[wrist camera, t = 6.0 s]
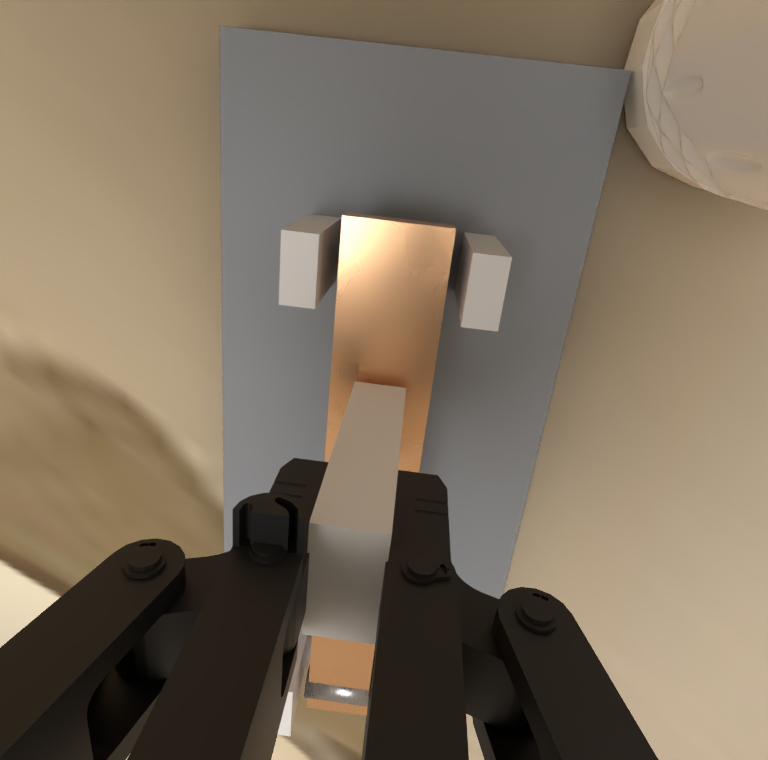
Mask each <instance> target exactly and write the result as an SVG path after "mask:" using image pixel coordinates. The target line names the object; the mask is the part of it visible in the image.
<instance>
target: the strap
mask: <svg viewBox="0 0 768 760" xmlns="http://www.w3.org/2000/svg"><path fill="white" fill-rule="evenodd" d="M455 233H456V227H455V225H453V224H445V223H436V222H428V221H419V220H411V219H402V218H394V217H385V216H377V215H369V214H360V213H352V212H346V213H344V214H343V215H342V223H341V237H340V251H339V265H338V279H337V293H336V307H335V321H334V335H333V349H332V363H331V376H330V390H329V404H328V418H327V432H326V446H325V460H324V462H329V460H330V457H331V454H332V450H333V447H334V444H335V441H336V438H337V435H338V432H339V429H340V426H341V423H342V420H343V416H344V413H345V410H346V407H347V404H348V401H349V398H350V395H351V392H352V389H353V386H354V382H355V381H356V382H363V383H371V384H379V385H387V386H395V387H403V388H406V395H405V405H404V416H403V426H402V436H401V446H400V456H399V466H398V470H403V471H410V472H418V473H419V469H420V462H421V456H422V449H423V443H424V436H425V430H426V423H427V416H428V410H429V403H430V397H431V390H432V384H433V377H434V371H435V364H436V357H437V351H438V344H439V338H440V331H441V325H442V318H443V312H444V305H445V298H446V292H447V285H448V279H449V272H450V266H451V259H452V253H453V246H454V239H455ZM374 650H375V645H374V644H367V643H360V642H353V641H346V640H339V639H332V638H325V637H318V636H312V642H311V655H310V665H309V669H308V674H307V679H306V685H305V693H304V698H307V707H309V708H316V709H323V710H330V711H336V712H343V713H350V714H357V715H364V716H367V708H368V699H369V697H368V694H369V687H370V680H371V672H372V665H373V657H374Z"/></svg>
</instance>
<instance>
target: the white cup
mask: <svg viewBox="0 0 768 760" xmlns="http://www.w3.org/2000/svg"><path fill="white" fill-rule="evenodd" d="M624 70H631V74H630V78H629V82H628V86H627V90H626V94H625V98H624V106H625V116H626V126H627V129H628V131H629V132H630V134H631V135H632V137H633V138H634V140H635V141H636V143H637V144H638V146H639V148H640V149H641V151H642V152H643V154H644V155H645V157H646V158H647V160H648V161H649V163H650V164H651V166H652V167H654V168H656V169H658V170H660V171H662V172H664V173H666V174H668V175H670V176H672V177H674V178H676V179H678V180H680V181H682V182H684V183H686V184H688V185H690V186H693V187H696V188H700V189H704V190H706V191H709V192H711V193H714V194H716V195H719V196H722V197H725V198H729V199H732V200H735V201H739V202H742V203H745V204H748V205H751V206H754V207H757V208H761V209H764V210H768V0H655V1H654V2H653V3H652V4H651V6H650V7H649V8H648V9H647V11H646V12H645V13H644V15H643V16H642V17H641V18H640V20H639V22H638V26H637V29H636V32H635V35H634V38H633V42H632V45H631V48H630V51H629V54H628V58H627V61H626V64H625V67H624Z"/></svg>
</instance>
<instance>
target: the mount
mask: <svg viewBox="0 0 768 760" xmlns="http://www.w3.org/2000/svg"><path fill="white" fill-rule="evenodd" d="M219 32H220V145H221V257H222V369H223V482H224V553H225V552H228V551H230V550H231V548H232V546H233V510H232V509H233V508H234V507H235V506H236V505H237V504H238V503H239V502H240V501H241V500H243V499H245V498H247V497H249V496H251V495H256V494H261V493H269V491H270V489H271V487H272V485H273V483H274V481H275V479H276V477H277V474H278V472H279V470H280V468H281V467H282V466H284V465H285V464H286V463H288V462H289V461H290V460H292V459H293V458H300V459H308V460H315V461H323V462H324V460H325V446H326V432H327V418H328V404H329V390H330V376H331V363H332V349H333V335H334V321H335V307H336V293H337V279H338V265H339V251H340V237H341V223H342V215H343V214H344V213H346V212H352V213H360V214H369V215H377V216H385V217H394V218H402V219H411V220H419V221H428V222H436V223H445V224H453V225H455V227H456V233H455V239H454V246H453V253H452V259H451V266H450V272H449V279H448V285H447V292H446V298H445V305H444V312H443V318H442V325H441V331H440V338H439V344H438V351H437V357H436V364H435V371H434V377H433V384H432V390H431V397H430V403H429V410H428V416H427V423H426V430H425V436H424V443H423V449H422V456H421V462H420V469H419V473H425V474H433V475H438V476H439V477H440V479H441V480H442V482H443V483H444V484H445V486H446V487H447V493H448V513H449V514H448V517H449V532H450V551H451V562H452V564H453V566H454V567H455V570H456V573H457V575H458V576H459V577H460V578H461V579H462V580H463V581H464V582H465V583H467V584H468V585H469V586H471V587H472V588H474V589H476V590H478V591H480V592H482V593H485V594H487V595H490V596H492V597H495V598H497V599H500V597H501V596H502V595H503V592H504V588H505V584H506V580H507V576H508V571H509V567H510V563H511V559H512V555H513V551H514V547H515V543H516V539H517V535H518V531H519V527H520V522H521V518H522V514H523V510H524V506H525V502H526V498H527V494H528V490H529V486H530V482H531V478H532V474H533V469H534V465H535V461H536V457H537V453H538V449H539V445H540V441H541V437H542V433H543V429H544V425H545V421H546V416H547V412H548V408H549V404H550V400H551V396H552V392H553V388H554V384H555V380H556V376H557V372H558V368H559V363H560V359H561V355H562V351H563V347H564V343H565V339H566V335H567V331H568V327H569V323H570V319H571V314H572V310H573V306H574V302H575V298H576V294H577V290H578V286H579V282H580V278H581V274H582V270H583V266H584V261H585V257H586V253H587V249H588V245H589V241H590V237H591V233H592V229H593V225H594V221H595V217H596V213H597V208H598V204H599V200H600V196H601V192H602V188H603V184H604V180H605V176H606V172H607V168H608V164H609V160H610V155H611V151H612V147H613V143H614V139H615V135H616V131H617V127H618V123H619V119H620V115H621V111H622V106H623V102H624V98H625V94H626V90H627V86H628V82H629V78H630V74H631V70H622V69H613V68H604V67H595V66H585V65H576V64H567V63H558V62H549V61H539V60H530V59H521V58H512V57H503V56H493V55H484V54H475V53H466V52H457V51H447V50H438V49H429V48H420V47H411V46H401V45H392V44H383V43H374V42H365V41H355V40H346V39H337V38H328V37H319V36H309V35H300V34H291V33H282V32H273V31H263V30H254V29H245V28H236V27H227V26H219ZM302 628H303V623H302V627H301V630H300V634H299V638H298V650H297V660H296V664H295V668H294V672H293V676H292V680H291V683H290V687H289V691H288V695H287V699H286V703H285V707H284V711H283V715H282V718H281V722H280V726H279V730H278V735H285V736H290V735H291V731H292V727H293V722H294V718H295V714H296V710H297V706H298V701H299V697H300V693H301V689H302V685H303V680H304V676H305V672H306V668H307V664H308V660H310V655H311V642H312V636H311V635H304V634H302Z"/></svg>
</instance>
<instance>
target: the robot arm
mask: <svg viewBox="0 0 768 760" xmlns="http://www.w3.org/2000/svg"><path fill="white" fill-rule="evenodd" d="M405 395H406V388H403V387H395V386H387V385H379V384H371V383H363V382H356V381H355V382H354V386H353V389H352V392H351V395H350V398H349V401H348V404H347V407H346V410H345V413H344V416H343V420H342V423H341V426H340V429H339V432H338V435H337V438H336V441H335V444H334V447H333V450H332V454H331V457H330V460H329V462H323V461H315V460H308V459H300V458H293V459H292V460H290V461H289V462H288V463H286V464H285V465H284V466H282V467H281V468H280V470H279V472H278V474H277V477H276V479H275V481H274V483H273V485H272V487H271V489H270V491H269V493H261V494H256V495H251V496H249V497H247V498H245V499H243V500H241V501H240V502H239V503H238V504H237V505H236V506H235V507H234V508H233V509H232V510H233V546H232V548H231V550H230V551H228V552H225V553H222V554H219V555H214V556H208V557H199V558H189V559H185V554H184V552H183V551H182V549H181V548H180V546H178V545H176V544H174V543H173V542H171V541H167V540H162V539H147V540H140V541H137V542H134V543H131V544H128V545H125V546H124V547H122V548H121V549H119V550H117V551H116V552H114V553H113V554H112V555H110V556H109V557H108V558H107V559H106V560H104V561H103V562H102V563H101V564H100V565H99V566H97V567H96V568H95V569H94V570H93V571H91V572H90V573H89V574H88V575H87V576H85V577H84V578H83V579H82V580H81V581H79V582H78V583H77V584H76V585H75V586H73V587H72V588H71V589H70V590H69V591H67V592H66V593H65V594H64V595H63V596H62V597H60V598H59V599H58V600H57V601H56V602H54V603H53V604H52V605H51V606H50V607H48V608H47V609H46V610H45V611H44V612H42V613H41V614H40V615H39V616H38V617H37V618H35V619H34V620H33V621H32V622H30V623H29V624H28V625H27V626H26V627H25V628H23V629H22V630H21V631H20V632H19V633H17V634H16V635H15V636H14V637H13V638H11V639H10V640H9V641H8V642H7V643H6V644H4V645H3V646H2V647H1V648H0V760H126V758H127V757H128V756H129V757H128V759H127V760H271V757H272V753H273V749H274V746H275V742H276V738H277V734H278V730H279V726H280V722H281V718H282V715H283V711H284V707H285V703H286V699H287V695H288V691H289V687H290V683H291V680H292V676H293V672H294V668H295V664H296V660H297V650H298V638H299V634H300V630H301V627H302V623H303V628H302V634H304V635H311V636H318V637H325V638H332V639H339V640H346V641H353V642H360V643H367V644H374V645H375V650H374V657H373V665H372V672H371V680H370V687H369V694H368V697H369V699H368V708H367V716H366V725H365V734H364V743H363V751H362V760H469V757H468V740H467V724H466V713H467V714H469V715H471V716H472V717H473V724H474V728H475V731H476V734H477V737H478V740H479V743H480V747H481V750H482V753H483V756H484V759H485V760H658V758H657V757H656V755H655V753H654V752H653V750H652V748H651V747H650V745H649V743H648V742H647V740H646V738H645V736H644V735H643V733H642V731H641V730H640V728H639V726H638V725H637V723H636V721H635V720H634V718H633V716H632V715H631V713H630V711H629V710H628V708H627V706H626V704H625V703H624V701H623V699H622V698H621V696H620V694H619V693H618V691H617V689H616V688H615V686H614V684H613V683H612V681H611V679H610V678H609V676H608V674H607V672H606V671H605V669H604V667H603V666H602V664H601V662H600V661H599V659H598V657H597V656H596V654H595V652H594V651H593V649H592V647H591V645H590V644H589V642H588V640H587V639H586V637H585V635H584V634H583V632H582V630H581V629H580V627H579V625H578V624H577V622H576V620H575V619H574V617H573V615H572V614H571V612H570V611H569V610H568V609H567V608H566V606H565V605H564V604H563V603H562V602H560V601H559V600H558V599H556V598H555V597H553V596H552V595H550V594H548V593H545V592H543V591H540V590H538V589H533V588H524V587H520V588H515V589H511V590H508V591H507V592H506V593H504V594H503V595H502V596H501V597H500V599H497V598H495V597H492V596H490V595H487V594H485V593H482V592H480V591H478V590H476V589H474V588H472V587H471V586H469V585H468V584H467V583H465V582H464V581H463V580H462V579H461V578H460V577H459V576H458V575H457V573H456V570H455V567H454V566H453V564H452V562H451V551H450V532H449V517H448V514H449V513H448V493H447V487H446V486H445V484H444V483H443V482H442V480H441V479H440V477H439V476H438V475H433V474H425V473H418V472H410V471H403V470H398V466H399V456H400V446H401V436H402V426H403V416H404V405H405ZM129 754H130V755H129Z"/></svg>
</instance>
